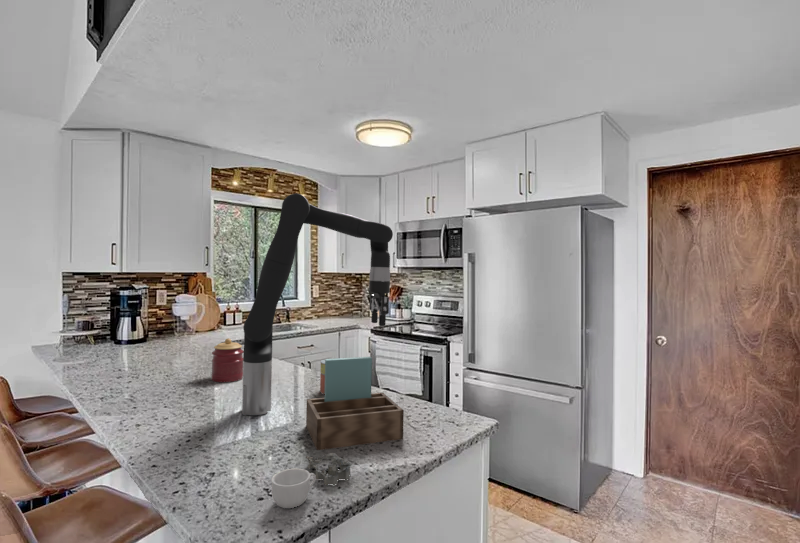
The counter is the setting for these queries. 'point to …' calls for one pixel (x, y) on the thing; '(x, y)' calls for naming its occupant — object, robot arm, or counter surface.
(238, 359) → the canister
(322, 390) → the canned food
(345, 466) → the egg carton
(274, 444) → the counter surface
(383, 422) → the rack
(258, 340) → the robot arm
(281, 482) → the teacup
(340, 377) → the teal board
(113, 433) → the counter surface
